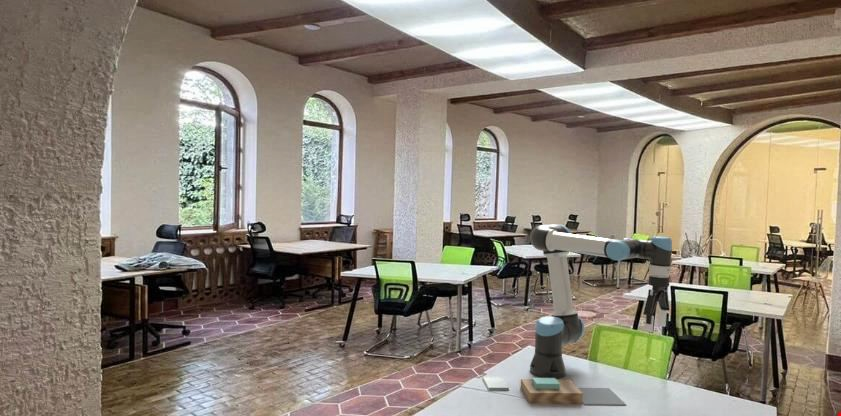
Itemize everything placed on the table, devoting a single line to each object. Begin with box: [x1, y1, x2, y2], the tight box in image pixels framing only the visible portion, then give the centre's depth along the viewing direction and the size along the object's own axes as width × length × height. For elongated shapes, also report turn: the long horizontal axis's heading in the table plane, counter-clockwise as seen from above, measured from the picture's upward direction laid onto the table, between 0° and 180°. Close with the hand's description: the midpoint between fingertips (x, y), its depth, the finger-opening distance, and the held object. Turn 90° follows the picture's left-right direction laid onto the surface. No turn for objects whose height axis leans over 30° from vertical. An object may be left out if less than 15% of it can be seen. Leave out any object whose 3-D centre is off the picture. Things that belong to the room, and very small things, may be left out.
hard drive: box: [482, 376, 510, 391], centre depth 216 cm, size 2×8×12 cm
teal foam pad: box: [531, 377, 560, 389], centre depth 205 cm, size 9×6×2 cm, turn 93°
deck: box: [519, 378, 583, 405], centre depth 205 cm, size 20×14×4 cm
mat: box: [577, 387, 627, 406], centre depth 207 cm, size 16×16×1 cm
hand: (655, 328), depth 210 cm, fingers open, 13 cm apart
